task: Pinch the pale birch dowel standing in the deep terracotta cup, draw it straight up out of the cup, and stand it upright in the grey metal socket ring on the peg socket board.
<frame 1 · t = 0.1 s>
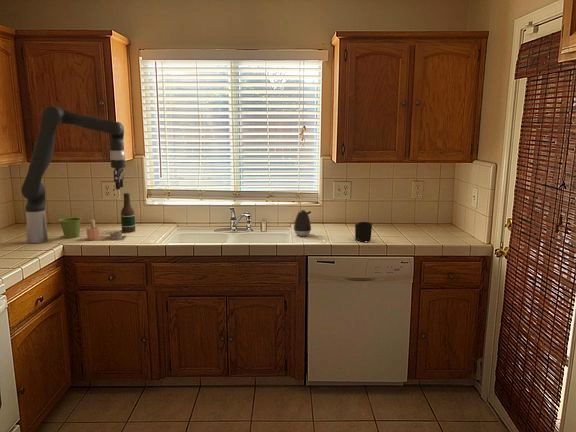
hand: (119, 188, 253), 29 cm above the countertop, tool pointing down, fingers open, 8 cm apart
plant pot: (71, 238, 260), on the countertop
peg socket board: (106, 240, 257), on the countertop
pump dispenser: (302, 235, 272), on the countertop
birch dowel: (93, 237, 255), point 2 cm above the countertop, touching terracotta cup
beer bottle: (128, 233, 274), on the countertop
pen holder: (362, 241, 261), on the countertop
terracotta cup: (93, 238, 255), resting on peg socket board
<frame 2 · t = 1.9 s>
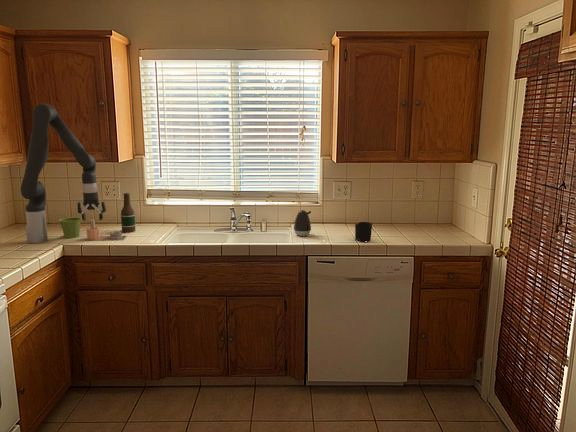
hand: (92, 220, 253), 11 cm above the countertop, tool pointing down, fingers open, 8 cm apart
nothing on the countertop moved.
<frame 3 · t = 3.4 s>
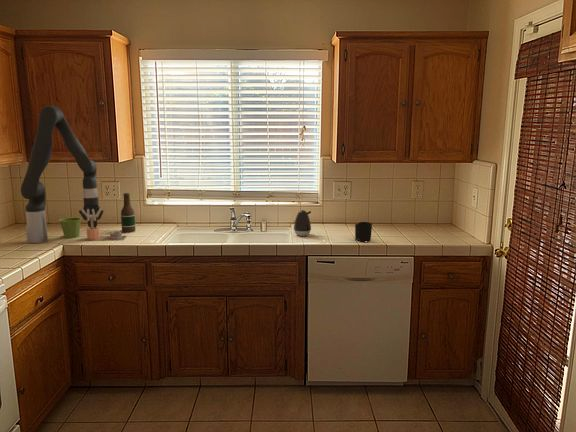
hand: (92, 227, 254), 8 cm above the countertop, tool pointing down, fingers closed on birch dowel, 2 cm apart
birch dowel: (93, 235, 255), point 3 cm above the countertop, touching gripper
everything else where it was.
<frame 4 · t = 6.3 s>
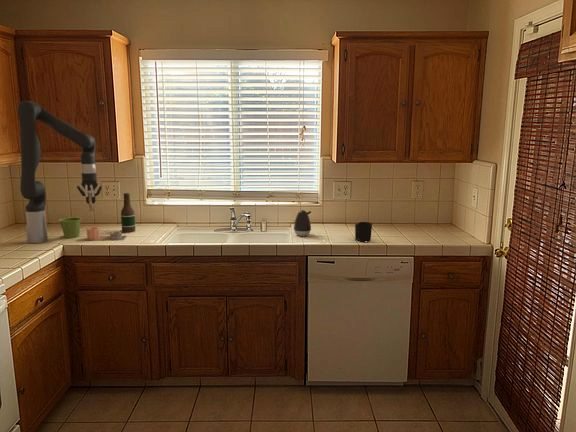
hand: (91, 203, 252), 21 cm above the countertop, tool pointing down, fingers closed on birch dowel
birch dowel: (91, 210, 252), point 17 cm above the countertop, touching gripper
everything else where it was.
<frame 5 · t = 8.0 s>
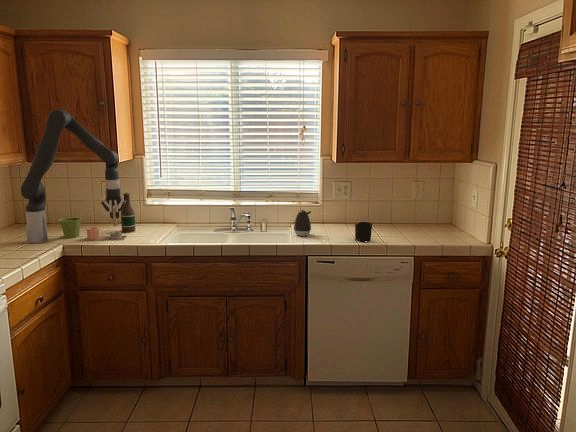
hand: (114, 218, 255), 12 cm above the countertop, tool pointing down, fingers closed on birch dowel
birch dowel: (115, 225, 256), point 8 cm above the countertop, touching gripper
everything else where it was.
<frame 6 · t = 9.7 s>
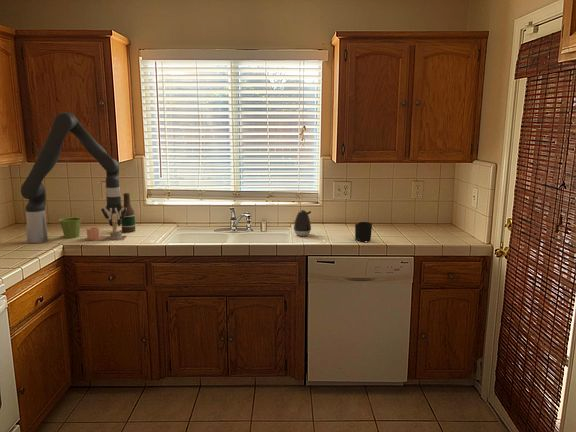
hand: (115, 225, 256), 8 cm above the countertop, tool pointing down, fingers open, 3 cm apart
birch dowel: (115, 238, 257), point 1 cm above the countertop, touching gripper
everything else where it was.
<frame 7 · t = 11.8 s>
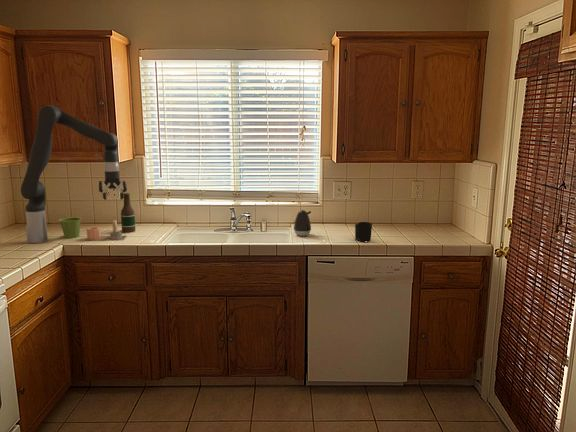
hand: (113, 199, 253), 23 cm above the countertop, tool pointing down, fingers open, 8 cm apart
birch dowel: (115, 238, 257), point 1 cm above the countertop, touching peg socket board
everything else where it was.
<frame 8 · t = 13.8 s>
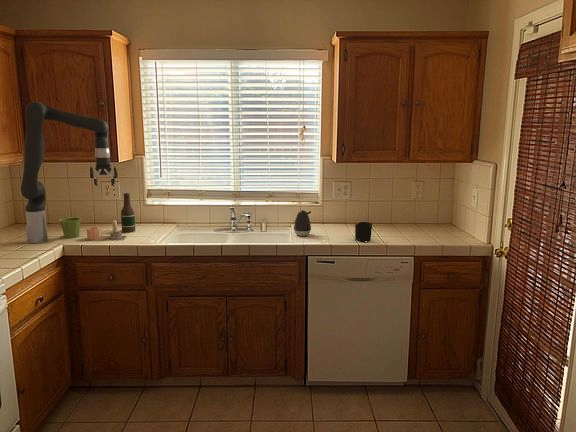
hand: (104, 185, 256), 30 cm above the countertop, tool pointing down, fingers open, 8 cm apart
nothing on the countertop moved.
at the end: birch dowel 0.2 cm from the target spot on the peg socket board, point 1.0 cm above the peg socket board's base; birch dowel tilted 1°; the gripper is holding nothing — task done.
